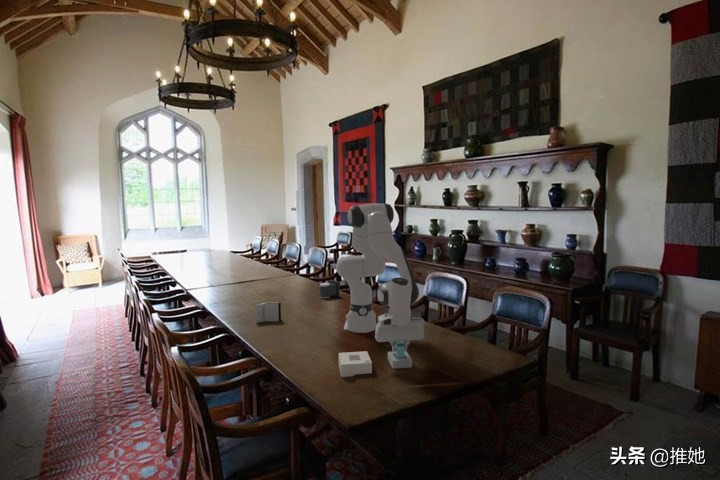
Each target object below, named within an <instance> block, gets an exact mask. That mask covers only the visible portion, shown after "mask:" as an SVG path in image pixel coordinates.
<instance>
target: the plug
mask: <svg viewBox="0 0 720 480" xmlns="http://www.w3.org/2000/svg"><path fill="white" fill-rule="evenodd" d="M405 343H406V341H405V340H397V341H394V346H396V347H397V349H396V350H397V351H395V358H396V359H402V358H404V346H405Z"/></svg>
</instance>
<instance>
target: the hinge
mask: <svg viewBox="0 0 720 480" xmlns="http://www.w3.org/2000/svg"><path fill="white" fill-rule="evenodd" d="M281 303H282V302H278V301H277V302H275V301H274V302H261V303H259V304H254V305H255V324H258V323H263V322H281V320H282V311H281V309H282V308H281V306H282V305H281Z"/></svg>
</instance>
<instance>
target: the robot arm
mask: <svg viewBox="0 0 720 480" xmlns="http://www.w3.org/2000/svg"><path fill="white" fill-rule="evenodd" d="M394 216H395V215H394V208H393V207H392V205H391V204H389V203H384V202H383V203H378V202H375V203H372V202H371V203H365V204H355V205H352V206H349V208H348V210H347V221H348V224H349V225H350V226H351V227H352V236H351V245H352V248H353V249H354V250H355V251H356V252H359V253H361V254H362V255H347V256H343V257H340V258H339V259H338V261H337V262H336V268H335V269H336V272H337V273H338V275H339V276H340V277H341V278H343V279H344V280H345V282H346V283H347V284H348V287H349V293H350V303H349V309H350V310H349V311H348V313H347V314H345V319H346V320H345V322H344V326H343V330H344V331H349V332H351V333H356V334H357V333H358V334H361V333H362V334H365V333H366V334H367V333H370V332H374V338H375V341H376V342H377V343H385V342H389V343H390V345H391V348H392V351H391V352H394V351H397V350H396V349H397V347H396V346H395V341H397V340H405V346H404V351H406V352H408V346H409V345H410V343H411V341H418V340H419V341H421V340H424V338H425V329H424V327H425V320H424V318H423V317H421V316H418V317H417V316H416V317H415V316H411V313H412V312H411V305H413V304H414V303H416V301H418V299H419V297H420V289H419V286H418V285H417V283H416V281H415V279H414V276H413V273H412V270H411V267H410V264H409V262H408V259H407V256H406V253H405V251H404V248H403V247H402V246H401V245H399V244H398V243H397V242H396V240H395V239H396V238H395V237H394V234H393V233H394V232H393V229H392V226H391V224H392V222H393V221H394V218H395V217H394ZM384 258H386V259H388V260H390V261H392V262H393V263H394V264H395V266H396V268H397V270H398V274H399V276H400V277H393V278H392V279H390V280H389V281H388V282H383V283H381V284H380V285H379V286H378V287H377V290H376V298H377V301H378V303H380V305H382V306H388V307H389V308H388V309H389V310H388V312H386V313H383V314H381V315H378V316H377V317H376V315H377V314H376V312H375V311H374V310H373V307H374V305H373V304H374V303H373V302H372V301H373V292H372V291H373V290H372V289H373V288H372V287H371V285H370V284H368V283H365V282H364V281H361V278H363V277H376V276H380V275H383V274H384V273H385V271H386V267H387V266H386V261H385V259H384ZM376 318H377V319H376ZM377 321H378V322H377Z"/></svg>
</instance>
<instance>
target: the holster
mask: <svg viewBox="0 0 720 480" xmlns="http://www.w3.org/2000/svg"><path fill="white" fill-rule="evenodd" d="M387 360H388V363H389V364H390V366H391V368H392V369H404V368H405V369H406V368H409V369H410V368H413V359H412V358H411V356H410V354H409V353H408V351H404V358H402V359H396V358H395V351H387Z"/></svg>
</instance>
